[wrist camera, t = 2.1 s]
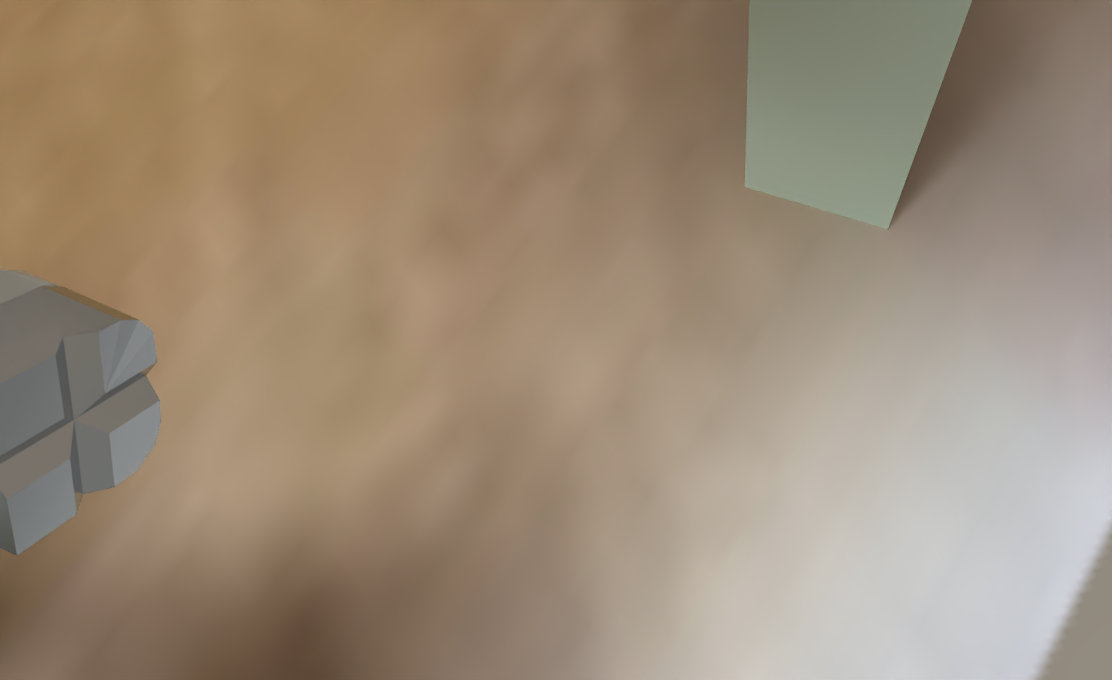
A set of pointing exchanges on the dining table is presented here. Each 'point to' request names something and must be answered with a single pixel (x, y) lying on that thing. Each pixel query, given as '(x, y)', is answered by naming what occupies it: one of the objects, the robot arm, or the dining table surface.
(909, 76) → the sage green slab
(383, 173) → the dining table surface
